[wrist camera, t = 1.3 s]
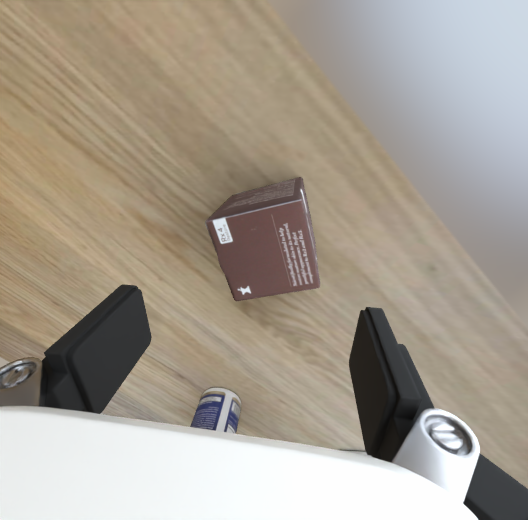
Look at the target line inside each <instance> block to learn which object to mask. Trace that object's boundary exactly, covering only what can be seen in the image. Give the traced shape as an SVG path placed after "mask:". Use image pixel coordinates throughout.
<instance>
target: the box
mask: <svg viewBox="0 0 528 520" xmlns="http://www.w3.org/2000/svg"><path fill="white" fill-rule="evenodd" d="M205 224H206V227H207V229H208V232H209V235H210V237H211V240H212V243H213V245H214V247H215V251H216V253H217V255H218V261H219V264H220V267H221V269H222V271H223V272H224V274H225V276H226V279H227V282H228V285H229V287H230V290H231V293H232V295H233V298H234V300H235V301H241V300H247V299H253V298H259V297H265V296H271V295H278V294H284V293H290V292H297V291H303V290H309V289H315V288H319V287H320V279H319V273H318V265H317V254H316V245H315V238H314V233H313V228H312V222H311V217H310V212H309V207H308V202H307V198H306V193H305V189H304V184H303V179H302V178H301V177H298V178H294V179H290V180H287V181H283V182H279V183H276V184H272V185H268V186H265V187H261V188H257V189H253V190H249V191H246V192H242V193H238V194H235V195H232V196H231V197H230V198H229V199H228V200H227V201H226V202H225V203H224V204H223V205H222V206H221V207H220V208H219V209H218V210H217V211H216V212H214V213H213V214H212V215H211V216H210V217H209V218H208V219H207V220H206V221H205Z"/></svg>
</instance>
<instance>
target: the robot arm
mask: <svg viewBox="0 0 528 520" xmlns="http://www.w3.org/2000/svg"><path fill="white" fill-rule="evenodd" d="M150 342H151V332H150V328H149V323H148V319H147V314H146V309H145V305H144V300H143V296H142V292H141V290H140V289H138V287H137V286H134V285H121V286H119V287H118V288H117V289H116V290H115V291H114V292H113V293H111V294H110V295H109V296H108V297H107V298H106V299H105V300H103V301H102V302H101V303H100V304H99V305H98V306H97V307H95V308H94V309H93V310H92V311H91V312H90V313H89V314H87V315H86V316H85V317H84V318H83V319H82V320H81V321H79V322H78V323H77V324H76V325H75V326H74V327H73V328H71V329H70V330H69V331H68V332H67V333H66V334H65V335H63V336H62V337H61V338H60V339H59V340H58V341H57V342H55V343H54V344H53V345H52V346H51V347H50V348H49V349H47V350H46V351H45V352H44V354H45V356H46V357H45V358H44V359H43V360H42V361H41V360H40V359H39V358H34V357H28V358H22V359H18V360H16V361H13V362H10V363H9V364H7V365H5V366H3V367H1V368H0V520H528V489H527V488H526V487H524V486H523V485H522V484H520V483H519V482H518V481H516V480H515V479H514V478H512V477H511V476H510V475H508V474H507V473H506V472H504V471H503V470H502V469H500V468H499V467H497V466H496V465H495V464H493V463H492V462H491V461H489V460H488V459H487V458H485V457H484V456H483V455H481V454H480V453H479V452H480V446H479V443H478V440H477V438H476V436H475V435H474V433H473V432H472V430H471V429H470V428H469V427H468V426H467V425H466V424H465V423H464V422H463V421H461V420H460V419H459V418H457V417H456V416H454V415H452V414H451V413H449V412H447V411H443V410H440V409H435V408H434V406H433V404H432V402H431V400H430V397H429V395H428V393H427V391H426V389H425V387H424V385H423V382H422V380H421V378H420V376H419V374H418V372H417V370H416V368H415V365H414V363H413V361H412V359H411V357H410V355H409V353H408V351H407V349H406V347H405V346H404V345H403V344H398V343H397V341H396V339H395V337H394V334H393V332H392V330H391V327H390V325H389V323H388V321H387V318H386V316H385V314H384V311H383V310H382V309H381V308H371V307H366V309H365V310H361V311H360V315H359V319H358V324H357V328H356V332H355V337H354V341H353V346H352V350H351V354H350V359H349V368H350V373H351V378H352V383H353V388H354V394H355V399H356V404H357V409H358V414H359V419H360V424H361V429H362V435H363V440H364V445H365V450H366V453H367V455H370V456H372V457H369V456H365V455H360V454H356V453H351V452H346V451H340V450H335V449H329V448H323V447H317V446H311V445H305V444H300V443H293V442H286V441H280V440H273V439H267V438H260V437H254V436H247V435H241V434H234V433H228V432H221V431H214V430H208V429H201V428H194V427H187V426H181V425H174V424H167V423H160V422H153V421H146V420H139V419H132V418H125V417H118V416H111V415H104V414H100V413H101V412H102V411H103V410H104V409H105V407H106V406H107V404H108V403H109V401H110V400H111V399H112V397H113V396H114V394H115V393H116V391H117V390H118V389H119V387H120V386H121V384H122V383H123V381H124V380H125V379H126V377H127V376H128V374H129V373H130V371H131V370H132V369H133V367H134V366H135V364H136V363H137V362H138V360H139V359H140V357H141V356H142V354H143V353H144V352H145V350H146V349H147V347H148V346H149V344H150Z"/></svg>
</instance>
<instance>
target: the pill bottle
mask: <svg viewBox="0 0 528 520" xmlns="http://www.w3.org/2000/svg"><path fill="white" fill-rule="evenodd" d="M240 411H241V401H240V399H239V397H238V396H237V395H236V394H235V393H233V392H232V391H230V390H227V389H224V388H210V389H208V390H206V391H205V392H204V393H203V394H202V396H201V398H200V401H199V404H198V407H197V410H196V412H195V415H194V418H193V421H192V424H191V426H190V427H194V428H201V429H208V430H214V431H221V432H228V433H234V434H236V431H237V426H238V421H239V416H240Z"/></svg>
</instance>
